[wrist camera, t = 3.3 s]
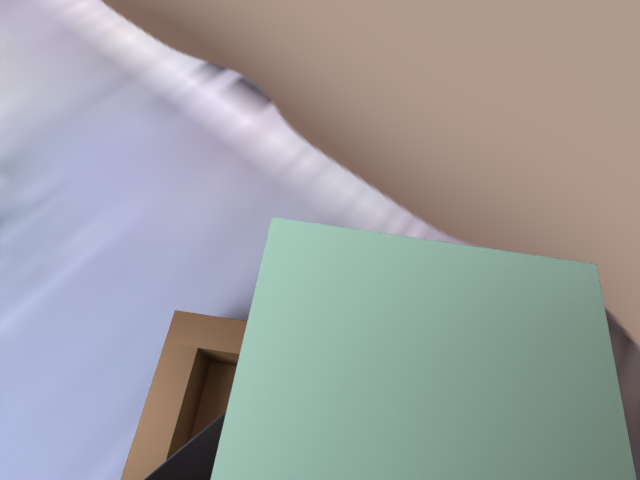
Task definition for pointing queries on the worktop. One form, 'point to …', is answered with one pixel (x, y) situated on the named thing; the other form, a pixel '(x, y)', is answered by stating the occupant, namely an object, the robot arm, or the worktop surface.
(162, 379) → the rack
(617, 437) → the mint green block
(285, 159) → the worktop surface
